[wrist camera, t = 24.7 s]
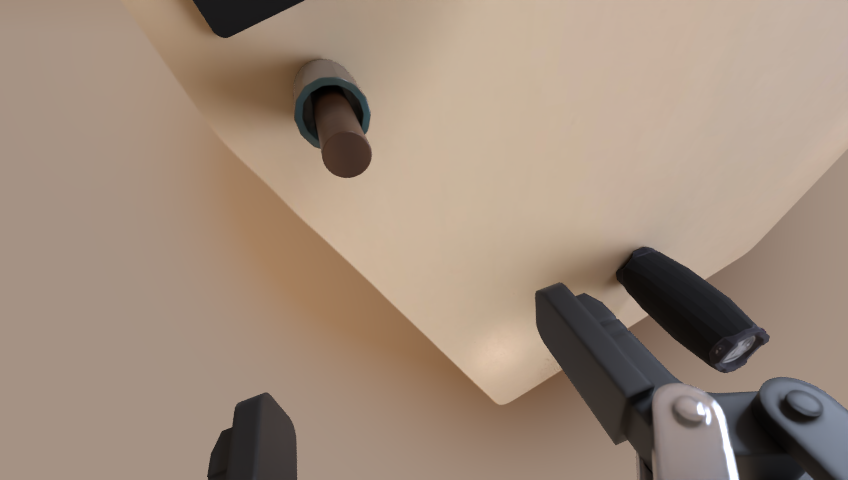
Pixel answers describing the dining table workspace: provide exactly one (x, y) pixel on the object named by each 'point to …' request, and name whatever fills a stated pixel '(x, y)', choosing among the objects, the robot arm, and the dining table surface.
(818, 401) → the robot arm
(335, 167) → the stirring stick
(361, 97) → the holder
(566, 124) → the dining table surface
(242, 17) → the smartphone
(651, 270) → the portable speaker
